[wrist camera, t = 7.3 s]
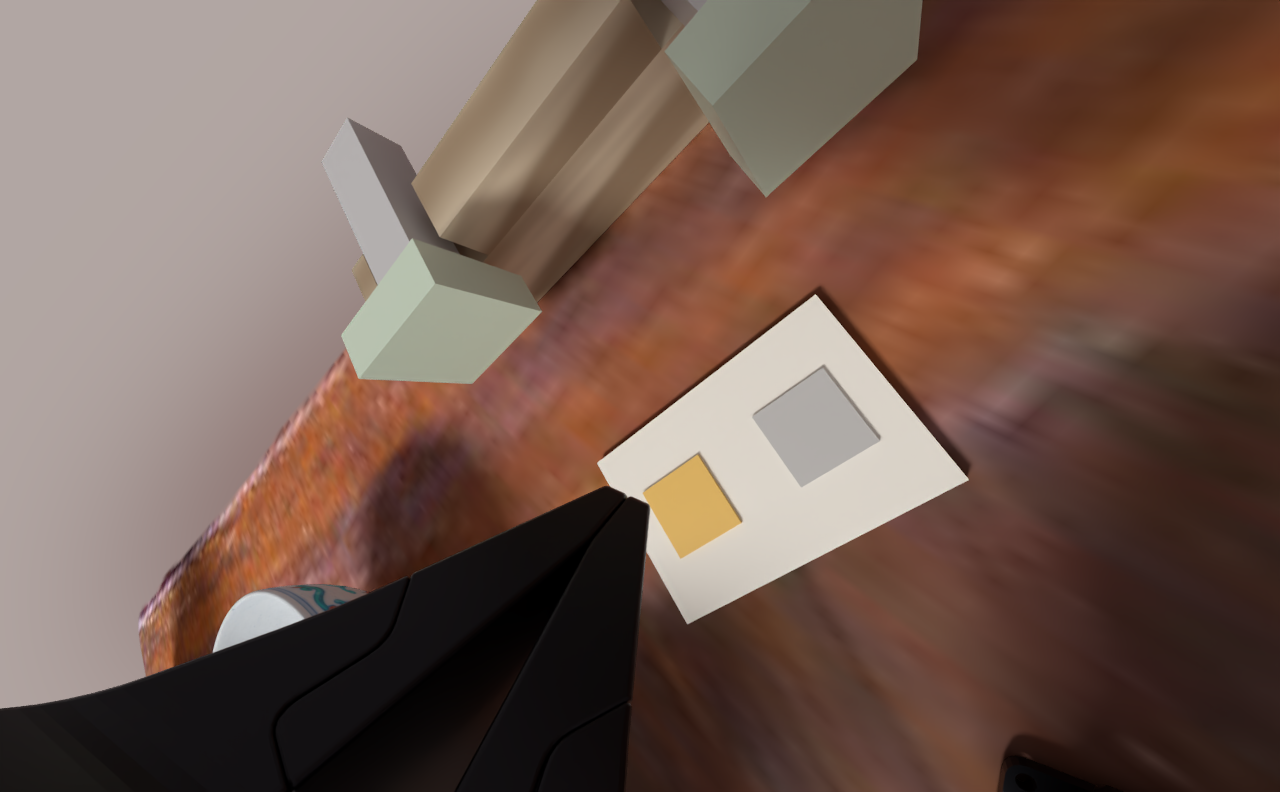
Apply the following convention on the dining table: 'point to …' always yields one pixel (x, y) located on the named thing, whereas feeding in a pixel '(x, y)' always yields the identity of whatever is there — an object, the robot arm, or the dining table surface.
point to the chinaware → (279, 610)
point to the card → (776, 463)
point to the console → (558, 138)
